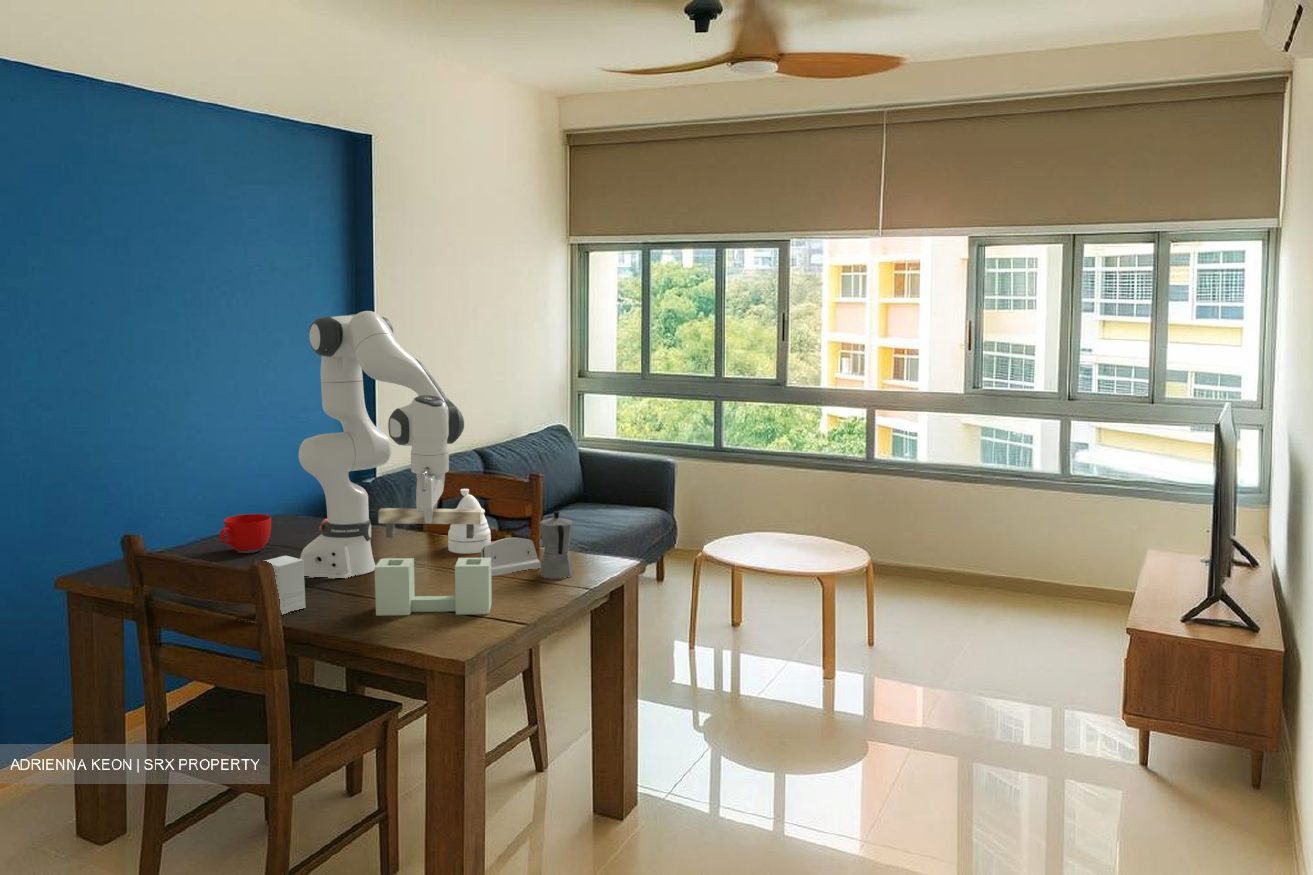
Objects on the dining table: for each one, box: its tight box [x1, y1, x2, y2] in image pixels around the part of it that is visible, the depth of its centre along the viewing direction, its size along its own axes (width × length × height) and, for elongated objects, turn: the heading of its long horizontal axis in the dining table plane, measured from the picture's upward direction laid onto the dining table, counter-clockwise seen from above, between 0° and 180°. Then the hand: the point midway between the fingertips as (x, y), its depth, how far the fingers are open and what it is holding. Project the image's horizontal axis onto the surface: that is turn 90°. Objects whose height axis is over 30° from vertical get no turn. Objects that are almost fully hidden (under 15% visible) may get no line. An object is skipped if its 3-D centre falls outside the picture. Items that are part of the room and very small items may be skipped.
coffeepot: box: [539, 510, 574, 580], centre depth 279 cm, size 15×9×18 cm, turn 15°
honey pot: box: [447, 488, 492, 555], centre depth 308 cm, size 13×13×18 cm
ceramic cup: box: [219, 513, 272, 551], centre depth 299 cm, size 13×17×10 cm
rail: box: [378, 507, 481, 539], centre depth 244 cm, size 24×3×6 cm, turn 94°
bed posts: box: [374, 557, 493, 616], centre depth 248 cm, size 27×8×12 cm, turn 95°
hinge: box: [480, 537, 542, 577], centre depth 286 cm, size 17×5×10 cm, turn 126°
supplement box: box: [264, 555, 307, 615], centre depth 246 cm, size 7×7×13 cm
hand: (430, 520), depth 244 cm, fingers closed on rail, 3 cm apart
